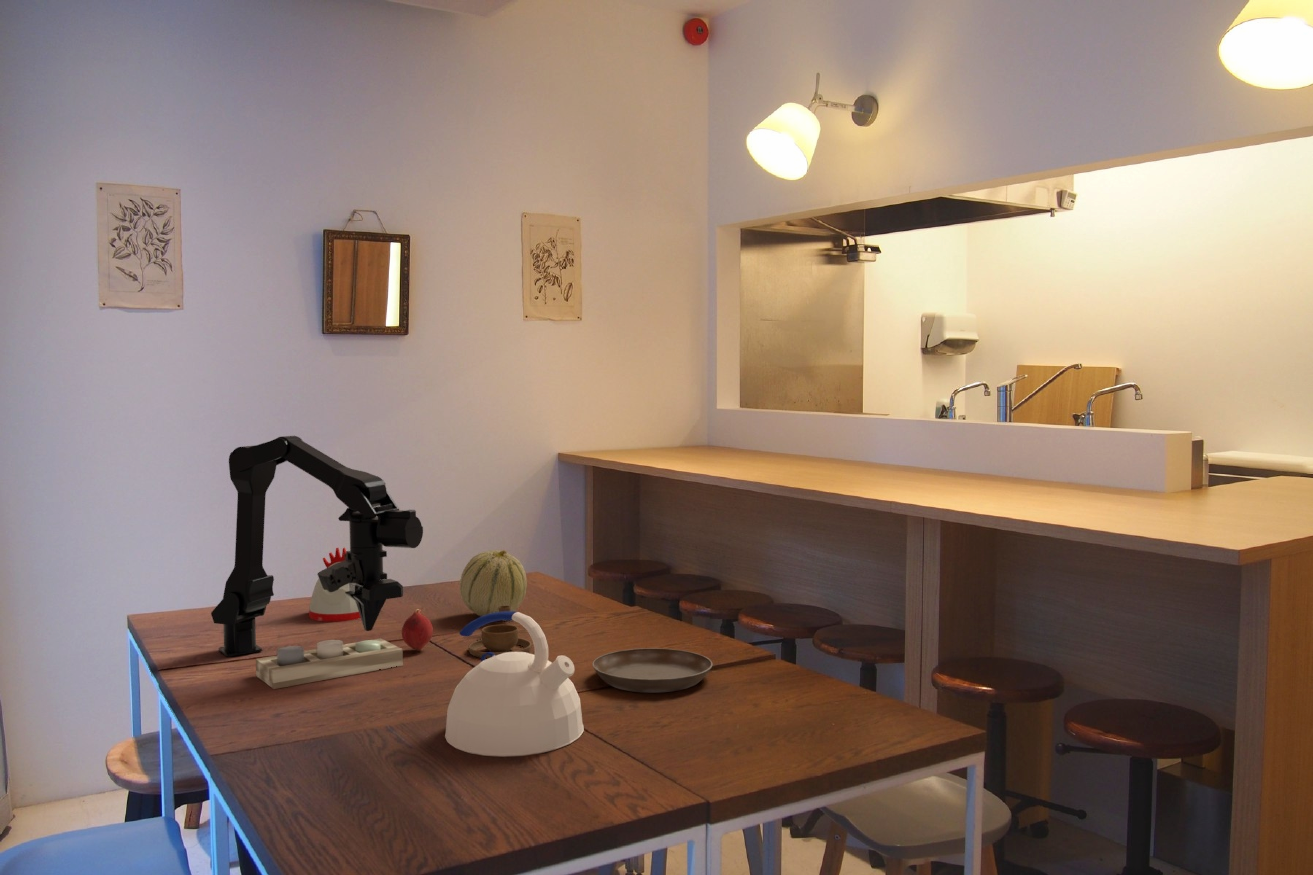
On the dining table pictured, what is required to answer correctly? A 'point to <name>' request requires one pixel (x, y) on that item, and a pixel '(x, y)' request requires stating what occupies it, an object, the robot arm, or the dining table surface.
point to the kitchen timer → (333, 599)
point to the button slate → (290, 655)
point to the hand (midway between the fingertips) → (368, 630)
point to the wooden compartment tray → (328, 665)
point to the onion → (417, 630)
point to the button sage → (367, 646)
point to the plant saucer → (652, 669)
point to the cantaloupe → (493, 582)
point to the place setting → (499, 639)
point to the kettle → (514, 699)
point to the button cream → (329, 649)
